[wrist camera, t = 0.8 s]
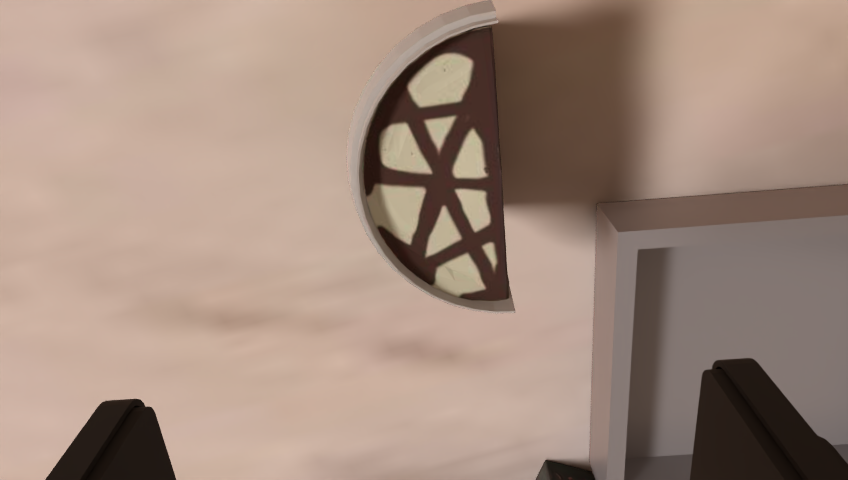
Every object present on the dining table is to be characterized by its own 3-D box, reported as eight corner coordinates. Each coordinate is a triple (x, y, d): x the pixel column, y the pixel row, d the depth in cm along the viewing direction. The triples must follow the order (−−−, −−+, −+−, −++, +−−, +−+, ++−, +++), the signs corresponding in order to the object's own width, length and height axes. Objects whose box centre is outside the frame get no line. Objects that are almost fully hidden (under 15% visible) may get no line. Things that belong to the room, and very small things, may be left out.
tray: (869, 443, 41) (913, 490, 37) (589, 461, 42) (605, 509, 38) (936, 177, 34) (998, 203, 30) (596, 203, 34) (618, 232, 31)
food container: (345, 5, 30) (313, 24, 21) (474, -10, 30) (497, 2, 21) (380, 240, 35) (366, 338, 26) (491, 229, 35) (516, 324, 26)
